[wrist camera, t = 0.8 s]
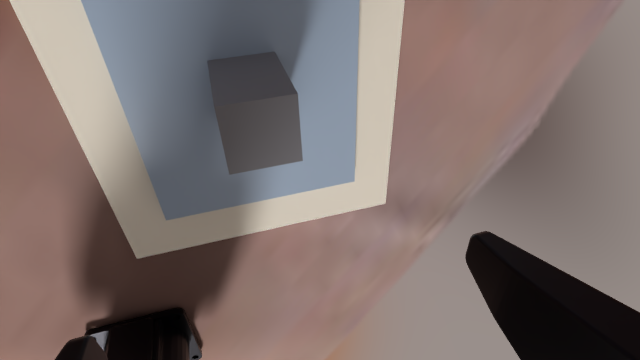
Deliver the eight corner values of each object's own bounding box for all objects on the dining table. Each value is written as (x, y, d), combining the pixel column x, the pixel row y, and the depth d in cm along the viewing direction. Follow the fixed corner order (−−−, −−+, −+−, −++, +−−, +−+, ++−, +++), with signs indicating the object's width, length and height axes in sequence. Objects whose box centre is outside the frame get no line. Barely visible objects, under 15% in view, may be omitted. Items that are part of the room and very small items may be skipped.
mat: (383, 199, 27) (385, 203, 26) (137, 253, 24) (136, 258, 23) (419, -210, 14) (424, -212, 14) (-88, -209, 11) (-95, -211, 11)
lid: (351, 175, 24) (384, 232, 20) (166, 213, 22) (163, 285, 18) (356, -105, 15) (416, -99, 12) (52, -88, 13) (-1, -73, 9)
